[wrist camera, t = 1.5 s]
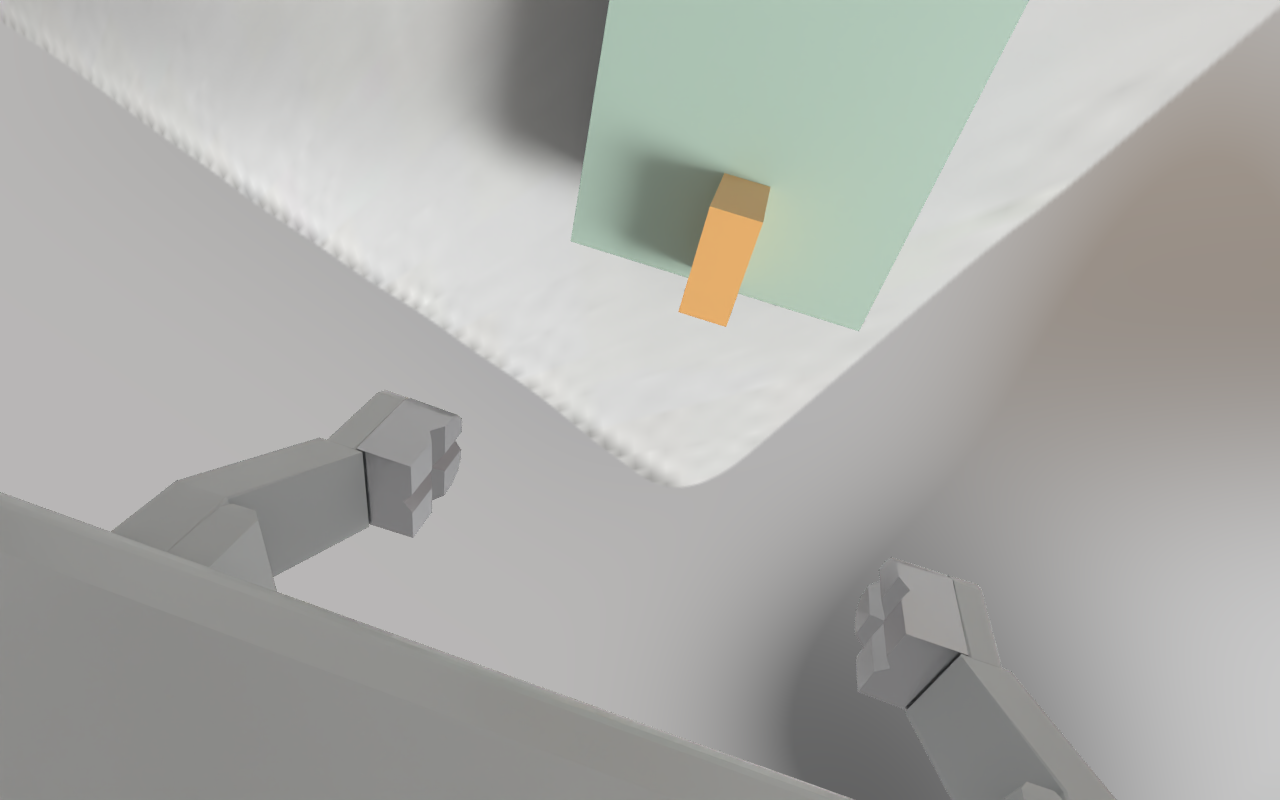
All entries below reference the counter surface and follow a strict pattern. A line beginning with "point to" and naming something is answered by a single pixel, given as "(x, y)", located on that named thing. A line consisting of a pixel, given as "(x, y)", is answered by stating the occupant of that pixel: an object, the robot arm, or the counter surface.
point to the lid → (778, 140)
